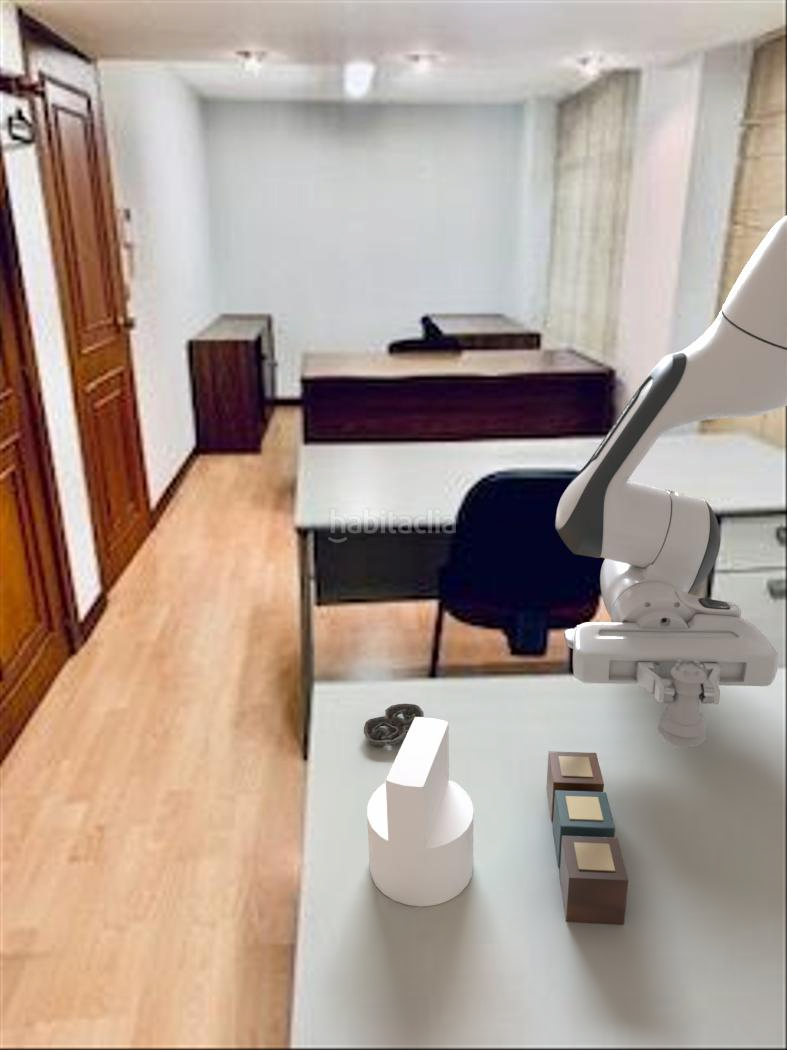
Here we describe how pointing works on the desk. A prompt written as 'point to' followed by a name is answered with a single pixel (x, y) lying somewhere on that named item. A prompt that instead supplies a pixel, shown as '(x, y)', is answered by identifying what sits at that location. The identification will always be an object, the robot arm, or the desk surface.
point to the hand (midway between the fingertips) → (689, 697)
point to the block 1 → (572, 774)
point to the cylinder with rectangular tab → (421, 822)
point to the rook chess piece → (685, 706)
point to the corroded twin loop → (392, 724)
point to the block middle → (581, 816)
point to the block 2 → (593, 880)
